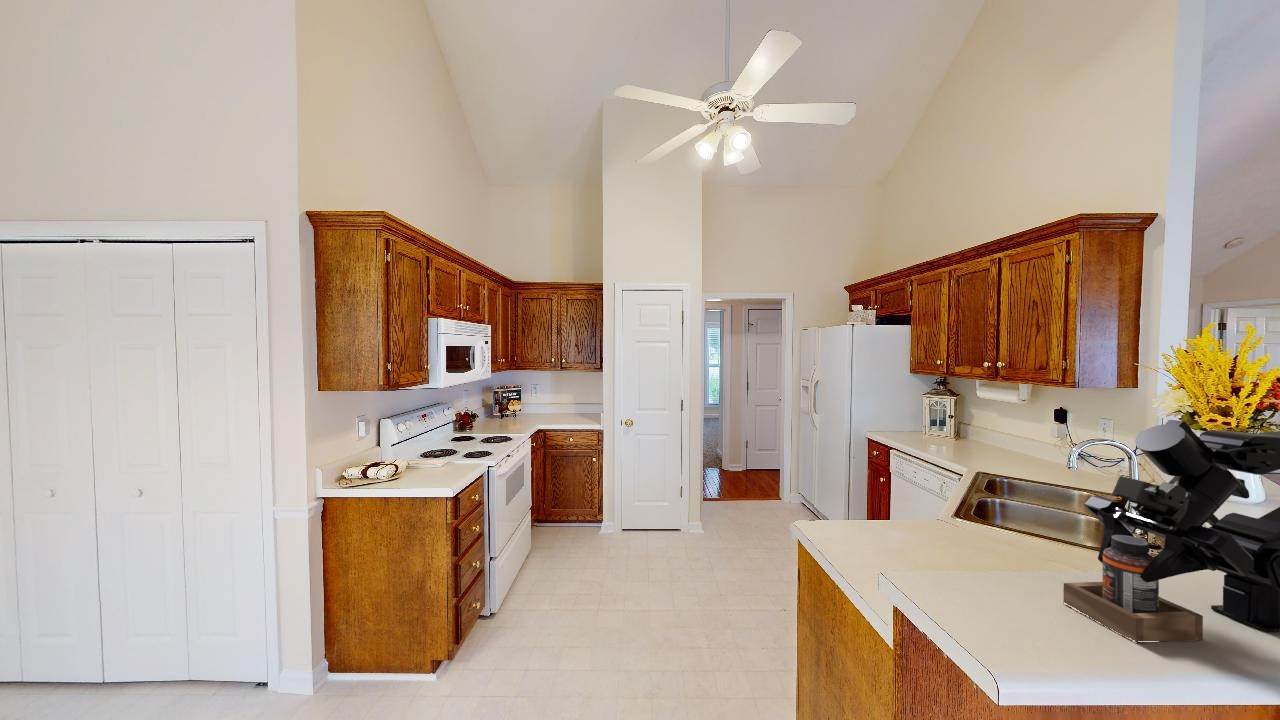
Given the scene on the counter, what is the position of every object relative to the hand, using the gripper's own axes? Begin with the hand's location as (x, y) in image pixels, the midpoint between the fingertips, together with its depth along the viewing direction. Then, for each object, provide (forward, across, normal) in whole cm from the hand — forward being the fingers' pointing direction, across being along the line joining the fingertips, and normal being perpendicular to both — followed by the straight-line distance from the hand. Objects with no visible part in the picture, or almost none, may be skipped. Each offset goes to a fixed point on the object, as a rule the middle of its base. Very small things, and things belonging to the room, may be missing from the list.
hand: (1121, 570), depth 72 cm
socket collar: (+5, 0, +6) cm, 8 cm away
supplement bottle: (+4, 0, +6) cm, 7 cm away
